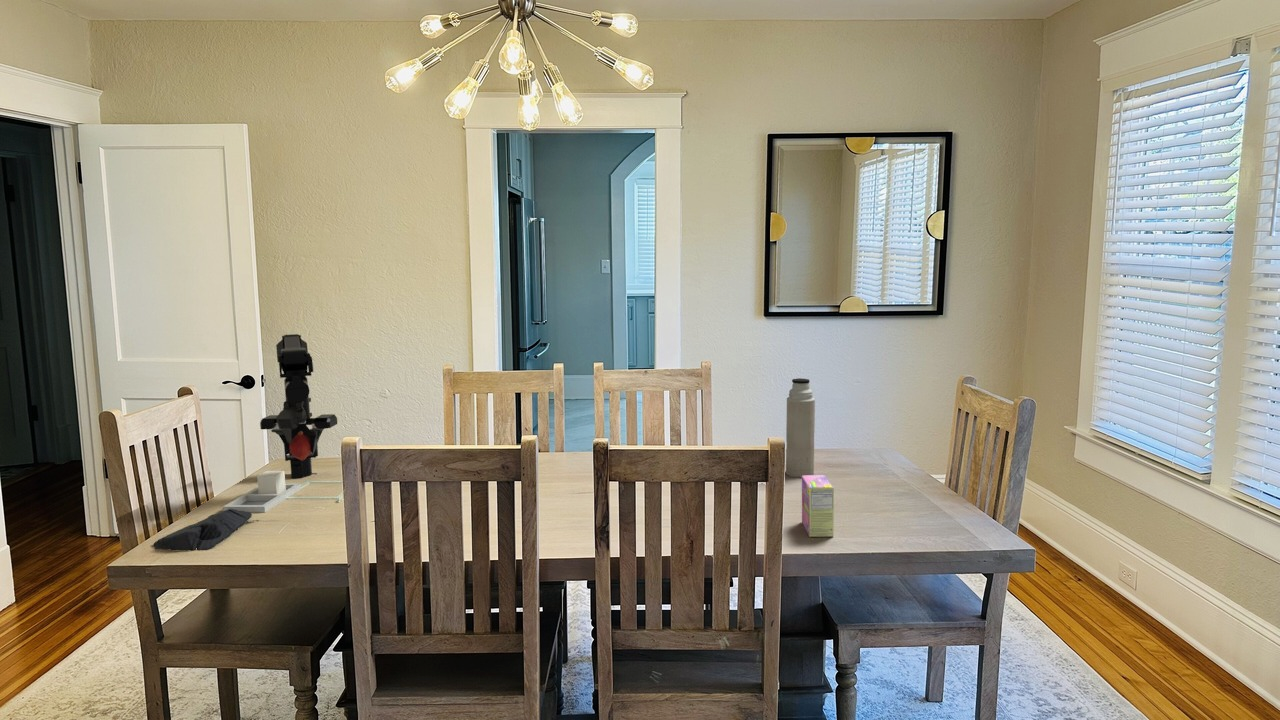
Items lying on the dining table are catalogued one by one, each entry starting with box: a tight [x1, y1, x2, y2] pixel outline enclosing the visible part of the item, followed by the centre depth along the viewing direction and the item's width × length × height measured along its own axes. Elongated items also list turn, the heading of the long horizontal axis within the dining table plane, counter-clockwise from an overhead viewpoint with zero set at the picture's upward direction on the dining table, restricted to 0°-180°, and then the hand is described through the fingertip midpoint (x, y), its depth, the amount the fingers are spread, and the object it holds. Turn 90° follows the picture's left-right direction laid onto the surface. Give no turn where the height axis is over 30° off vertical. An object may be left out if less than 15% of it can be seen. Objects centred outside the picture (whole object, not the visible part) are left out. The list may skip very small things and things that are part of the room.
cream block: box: [256, 470, 286, 494], centre depth 219 cm, size 5×5×6 cm
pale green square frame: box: [285, 480, 344, 503], centre depth 223 cm, size 16×16×1 cm
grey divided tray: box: [221, 483, 302, 514], centre depth 215 cm, size 20×11×2 cm, turn 177°
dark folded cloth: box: [152, 509, 253, 551], centre depth 193 cm, size 15×22×5 cm
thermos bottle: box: [785, 378, 816, 478], centre depth 234 cm, size 8×8×28 cm
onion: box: [289, 431, 311, 460], centre depth 218 cm, size 6×6×8 cm
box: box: [801, 474, 835, 538], centre depth 189 cm, size 10×6×12 cm, turn 178°
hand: (301, 453), depth 218 cm, fingers closed on onion, 6 cm apart
